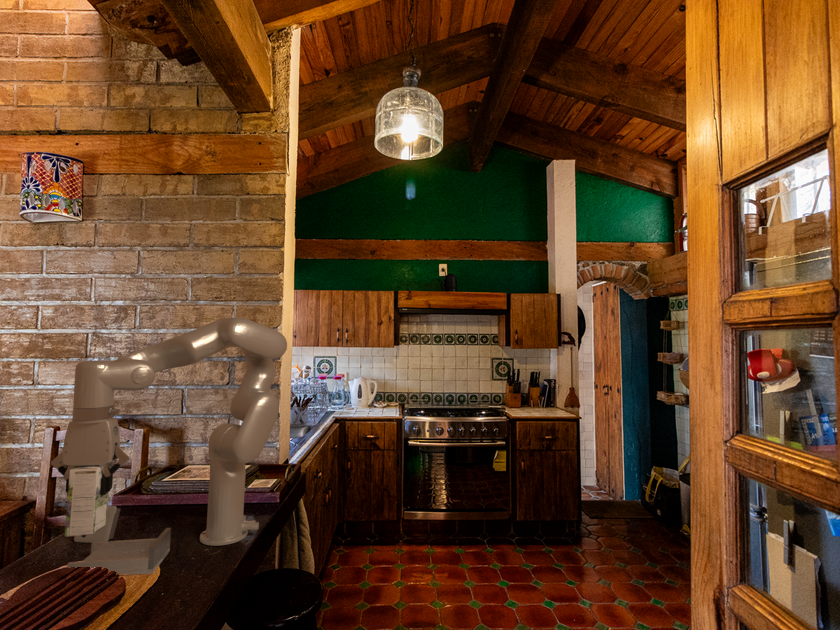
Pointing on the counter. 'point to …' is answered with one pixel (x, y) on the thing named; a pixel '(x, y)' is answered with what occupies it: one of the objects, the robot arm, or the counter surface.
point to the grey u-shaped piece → (128, 555)
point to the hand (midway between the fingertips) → (89, 493)
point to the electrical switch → (104, 532)
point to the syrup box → (85, 501)
